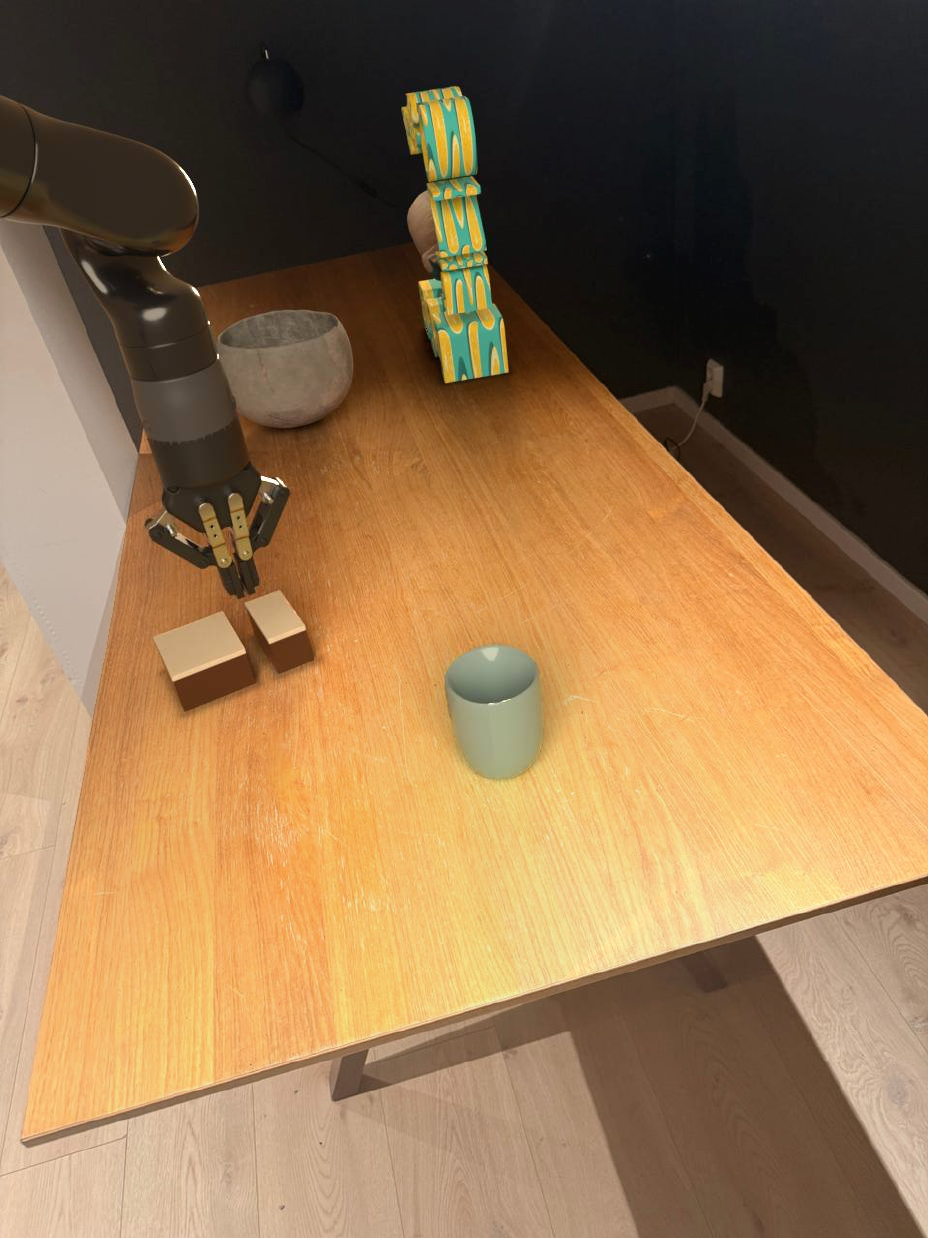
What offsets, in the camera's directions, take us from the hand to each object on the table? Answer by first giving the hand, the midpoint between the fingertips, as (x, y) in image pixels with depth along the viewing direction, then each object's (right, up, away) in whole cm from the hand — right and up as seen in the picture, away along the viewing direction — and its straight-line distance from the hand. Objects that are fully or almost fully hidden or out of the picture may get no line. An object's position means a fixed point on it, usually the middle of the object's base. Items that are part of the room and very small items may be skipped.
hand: (243, 592), depth 87 cm
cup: (+24, -15, -4) cm, 28 cm away
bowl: (-6, +29, +63) cm, 69 cm away
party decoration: (+20, +45, +80) cm, 94 cm away
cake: (-6, -8, +11) cm, 15 cm away
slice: (+1, -5, +14) cm, 15 cm away
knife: (-3, +3, +5) cm, 6 cm away
